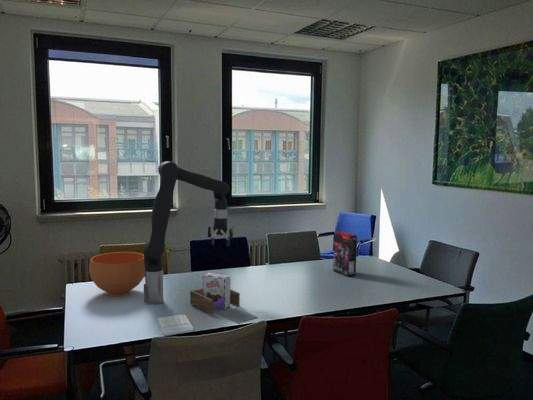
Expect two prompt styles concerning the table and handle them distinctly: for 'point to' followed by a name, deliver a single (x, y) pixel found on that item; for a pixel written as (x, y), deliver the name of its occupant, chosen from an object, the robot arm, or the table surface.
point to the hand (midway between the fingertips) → (220, 245)
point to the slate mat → (237, 315)
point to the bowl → (117, 272)
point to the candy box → (217, 289)
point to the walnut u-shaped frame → (206, 303)
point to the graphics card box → (345, 253)
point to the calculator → (175, 324)
